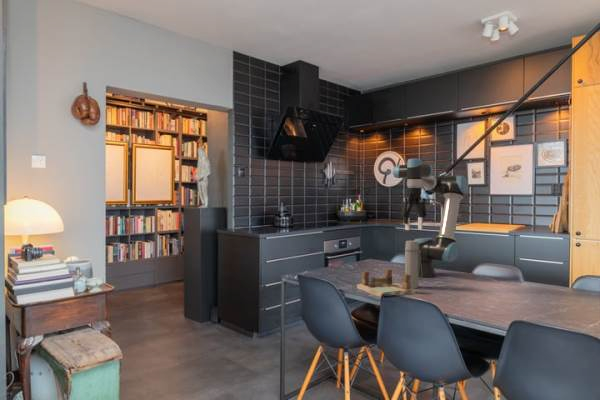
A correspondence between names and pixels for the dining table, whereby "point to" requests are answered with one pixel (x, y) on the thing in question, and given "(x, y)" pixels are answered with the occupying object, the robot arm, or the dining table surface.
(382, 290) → the socket pad
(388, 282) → the keeper leg
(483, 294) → the dining table surface
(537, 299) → the dining table surface
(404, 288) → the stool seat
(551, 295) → the dining table surface
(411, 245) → the water bottle
